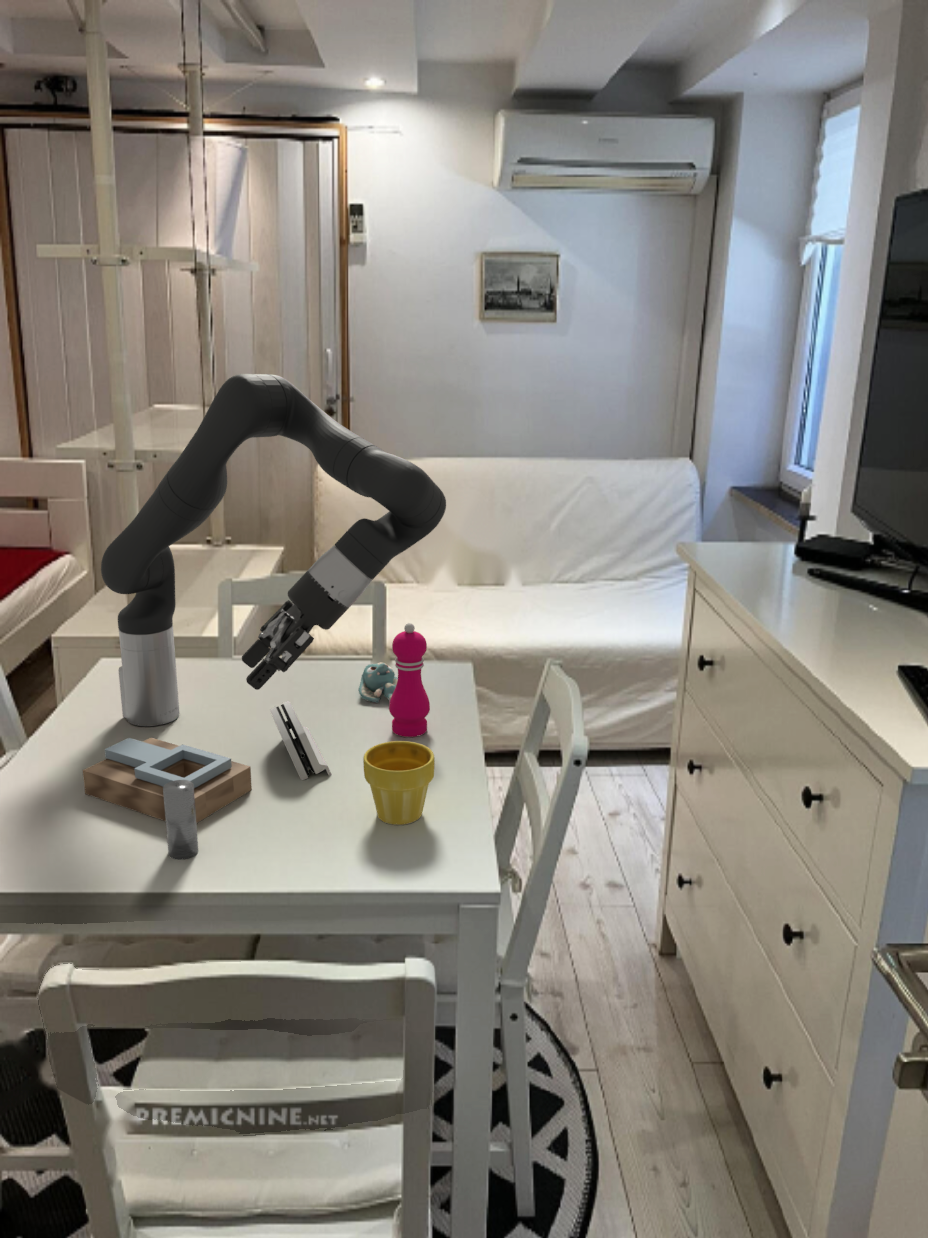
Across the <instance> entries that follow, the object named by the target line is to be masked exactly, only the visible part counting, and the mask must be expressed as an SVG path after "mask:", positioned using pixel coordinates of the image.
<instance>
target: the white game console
mask: <svg viewBox="0 0 928 1238" xmlns="http://www.w3.org/2000/svg"><path fill="white" fill-rule="evenodd" d="M280 707H281V709H282V711H281V709H280ZM280 707H279V706H276V705H274V706H273V707H272V708H270V709H269V712H270V714H271V716H272V720H273V722H274V723H275V726H276V728H277V730H278V733H279V735H280V737H281V740H282V741H283V744H284V746H285V748H286V750H287V753H288V754H289V757H290V759H291V761H292V763H293V765H294V767H295V770H296V772H297V774H298V776H299V779H300V780H302V781H303V780H306V779H309V776H310V771H311V774H314V773H315V775H318V774H319V773H321V772H323V771H326V773H327V776H332V772H331V770H330V767H329V765H328V763H327V762H326V759H325V758H324V756H323V754H322V752H321V749H320V748H319V746H318V744H317V742H316V740H315V739H314V737H313V734H312V732H311V731H310V729H309V727H307V726H304V725H302V723H301V720H300V719H299V717H298V715H297V712H296V710H295V709H294V707H293V704H292V702H291V701H290V700H288V701H284V702H282V704H281V705H280ZM282 712H283V713H284V716H285V717H286V719H285V717H284V716H283V713H282ZM291 731H292V732H291ZM292 734H293V735H294V736H293V735H292ZM294 737H295V738H294ZM302 755H303V757H302ZM309 770H310V771H309Z"/></svg>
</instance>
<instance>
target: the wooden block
mask: <svg viewBox="0 0 928 1238" xmlns="http://www.w3.org/2000/svg"><path fill="white" fill-rule="evenodd" d="M142 742H145V743H148V744H152V745H155V746H159V747H162V748H165V749H169V750H172V749H174V748H176V747H178V746H179V745H178V744H174V743H173V742H168V741H165V740H160V739H158V738H154V737H149V738H146V739H145V740H143V741H142ZM231 764H232V767H231V768H230V769H228V770H226V771H224V772H223V773H221V774H219V775H217V776H215V777H214V778H212V779H210V780H208V781H207V782H205V783H203V784H201V785H199V786H198V787H196V788H194V797H195V810H196V824H198V823H199V822H201V821H202V820H204V819H206V818H208V817H209V816H211V815H213V814H214V813H216V812H217V811H220V810H221V809H222V808H224V807H226V806H227V805H229V804H231V803H232V802H234V801H236V800H237V799H239V798H241V797H242V796H244V795H246V794H247V793H249V792H251V791H252V790H253V789H252V787H253V786H252V773H251V772H252V770H251V769H252V768H251V766H250V765H248V764H247V765H246V764H243V763H240V762H236V761H234V760H233V761H232V760H231ZM205 766H206V765H203V764H200V763H196V762H193V761H190V760H186V759H182V760H180V761H178V762H176V763H174V764H172V765H170V766H168V767H166V768H164V769H163V770H161V771H164V772H167V773H170V774H173V775H177V776H180V777H183V778H185V777H186V776H188V775H190V774H192V773H194V772H196V771H198V770H199V769H201V768H203V767H205ZM134 768H136V767H133V766H129V765H126V764H123V763H120V762H117V761H113V760H110V759H107V758H105V759H103V760H101V761H99V762H97V763H95V764H93V765H91V766H89V767H86V768H84V769H82V778H83V779H82V780H83V786H84V794H85V795H88V796H91V797H94V798H96V799H99V800H102V801H106V802H108V803H110V804H114V805H117V806H120V807H123V808H126V809H128V810H132V811H135V812H137V813H140V814H144V815H146V816H149V817H153V818H156V819H157V820H161V821H164V822H166V819H165V807H164V795H163V786H160V785H157V784H154V783H151V782H147V781H144V780H141V779H138V778H135V770H134Z"/></svg>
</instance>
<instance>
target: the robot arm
mask: <svg viewBox="0 0 928 1238" xmlns="http://www.w3.org/2000/svg"><path fill="white" fill-rule="evenodd" d="M208 407H209V408H207V411H206V413H205V415H204V417H203V419H202V421H201V422H200V424H199V426H198V428H197V430H196V431H195V433H194V434H193V435H192V437H191V438H190V440H189V441H188V443H187V445H185V448H184V449H183V451H182V452H181V453H180V455H179V456H178V458H177V459H176V460H175V462H174V463H173V464H172V466H171V467H170V468H169V470H168V471H167V472H166V474H165V475H164V477H162V479H161V480H160V482H159V483H158V485H157V487H156V488H155V490H154V492H152V494H151V495H150V497H149V498H148V499H147V500H146V502H145V503H144V505H142V507H141V508H140V510H139V512H138V513H137V514H136V516H135V517H134V518H133V520H132V521H131V522H130V523H129V524H128V525H127V526H126V527H125V528H124V529H123V531H122V532H120V534H118V535H117V537H116V538H114V540H113V541H112V542H111V543H110V544H109V545H108V546H107V548H106V549H105V551H104V553H103V555H102V558H101V563H100V573H101V578H102V580H103V582H104V585H106V587H107V588H108V589H109V590H110V591H112V592H114V593H117V594H119V595H133V594H135V595H134V597H133V598H132V600H131V601H130V602H129V603H127V605H126V606H125V607H123V608H122V609H121V610H120V611H119V613H118V615H117V628H118V636H119V637H118V638H119V648H120V657H121V666H119V667H118V679H119V691H120V700H121V711H122V717H123V718H125V719H126V721H127V722H128V723H129V724H132V725H135V726H139V727H154V726H161V725H165V724H168V723H171V722H173V721H175V720H176V719H177V718H179V716H180V703H179V687H178V676H177V673H178V672H177V662H176V661H177V660H176V650H175V635H174V625H173V624H174V623H173V618H174V614H175V610H176V570H175V569H176V567H175V560H174V557H173V553H172V550H171V548H170V546H172V545H173V544H175V543H176V542H178V541H180V540H181V539H183V538H184V537H186V536H187V535H189V534H190V533H191V532H193V531H195V530H196V529H198V528H199V527H200V526H201V525H202V524H203V523H204V522H205V521H206V520H207V519H208V518H209V516H211V514H212V513H213V512H214V510H215V509H216V508H217V507H218V506H219V504H220V503H221V502H222V500H223V498H224V496H225V495H226V492H227V488H228V471H227V464H228V461H229V459H230V458H231V457H232V455H233V454H234V453H235V451H236V450H237V449H238V448H239V447H240V446H241V445H242V444H243V443H244V442H245V441H247V440H248V439H253V438H271V437H277V436H281V437H284V438H287V439H290V440H292V441H295V442H297V443H300V444H301V445H303V446H305V447H306V448H307V449H309V451H310V452H311V453H312V455H313V457H314V459H315V461H316V463H317V464H318V466H319V467H320V468H321V469H322V471H324V473H326V474H327V475H328V476H329V477H331V478H332V479H333V480H335V481H336V482H337V483H339V484H341V485H343V486H345V488H347V489H349V490H351V491H352V492H354V493H356V494H358V495H360V496H362V497H364V498H371V499H372V500H374V501H375V502H377V503H378V504H379V505H381V506H382V507H384V508H385V509H386V510H387V511H388V512H386V513H385V514H384V515H382V516H381V517H380V518H378V519H375V520H372V519H368V518H361V519H358V520H357V521H356V522H354V523H353V524H352V525H351V526H350V527H349V528H348V530H346V532H345V533H344V534H343V535H342V536H341V537H340V538H339V539H338V540H337V541H336V542H335V544H333V545H332V546H331V547H330V548H329V549H328V550H327V551H325V552H324V553H323V554H322V555H321V556H319V558H317V560H316V561H315V562H314V563H313V564H312V566H310V567H309V568H308V569H307V570H306V571H305V573H304V574H302V575H301V577H299V579H298V580H297V581H296V582H295V583H294V585H293V586H291V588H290V589H289V590H288V591H287V597H288V599H289V600H286V601H285V602H284V603H283V604H282V605H281V606H280V608H278V609H277V611H275V613H274V614H273V615H272V616H271V617H270V618H269V619H268V620H267V621H266V622H265V623H264V624H263V625H262V626H261V627H260V628H259V629H260V630H259V631H260V633H259V634H258V637H257V639H256V640H255V642H254V643H253V644H252V645H250V647H249V648H248V649H247V650H246V651H245V652H244V653H243V655H242V656H241V661H242V663H244V664H245V665H246V666H248V667H249V668H251V669H253V670H252V671H251V672H250V673H249V674H248V675H247V676H246V678H245V681H246V683H247V684H248V685H249V686H251V688H253V689H254V690H256V691H258V690H260V689H262V687H263V686H264V685H265V684H266V683H267V682H268V681H269V680H270V679H271V678H272V676H273V675H274V674H275V673H276V672H277V671H278V672H280V671H281V672H282V673H285V672H287V671H288V670H289V668H290V667H291V666H293V664H294V663H295V662H296V661H297V660H298V658H299V657H300V656H301V655H303V653H304V651H305V650H307V648H309V646H310V645H311V644H312V643H313V642H314V640H315V637H313V636H312V635H311V634H310V633H311V631H312V629H314V627H316V626H318V627H319V628H321V630H326V631H328V630H330V629H331V628H332V627H333V626H334V625H335V624H336V622H337V621H338V620H339V619H340V618H341V617H342V616H343V615H344V614H345V613H346V612H347V611H348V610H349V609H350V608H351V606H353V605H354V604H355V602H356V601H358V599H359V598H360V597H361V596H362V595H363V593H364V592H365V591H366V590H367V588H368V587H369V585H370V584H371V583H372V581H373V580H374V579H375V578H376V577H377V576H378V575H379V574H380V573H381V571H383V569H385V567H387V566H388V564H390V562H391V560H393V558H395V557H397V556H398V555H401V553H403V552H404V551H407V550H408V549H409V548H411V547H412V546H414V545H415V544H417V543H419V542H420V541H421V540H423V539H424V538H425V537H427V536H428V535H429V534H430V533H432V532H433V531H434V529H436V528H437V527H438V525H439V524H440V522H441V521H442V519H443V517H444V515H445V513H446V509H447V499H446V496H445V494H444V492H443V491H442V489H441V488H440V487H439V486H438V484H436V483H435V482H434V480H433V479H432V478H431V477H430V476H429V475H428V474H427V473H426V472H425V470H423V468H421V467H419V466H418V465H416V464H415V463H413V462H411V461H409V460H408V459H405V458H403V457H400V456H398V455H395V454H394V453H393V454H392V453H389V452H386V451H385V450H383V449H382V448H380V447H379V446H377V445H375V444H374V443H372V442H370V441H369V440H367V439H365V438H364V437H362V436H360V435H358V434H356V433H355V432H353V431H351V430H350V429H348V428H347V427H345V426H344V425H342V424H341V423H339V422H338V421H336V420H335V419H334V418H333V417H331V416H330V415H329V414H327V413H326V412H325V411H324V410H323V409H322V408H320V407H319V406H318V405H317V404H316V403H314V402H313V401H312V400H311V399H310V398H309V397H307V395H305V394H304V393H303V392H302V391H301V390H300V389H299V388H298V387H296V385H294V384H293V383H292V382H290V381H289V380H288V379H286V378H284V377H282V376H280V375H278V374H269V373H238V374H235V375H233V376H231V377H229V378H228V379H226V381H224V383H223V384H222V385H221V387H220V388H219V389H218V390H217V393H216V395H214V398H213V400H212V401H211V404H210V406H208Z"/></svg>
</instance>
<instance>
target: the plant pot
mask: <svg viewBox="0 0 928 1238" xmlns="http://www.w3.org/2000/svg"><path fill="white" fill-rule="evenodd" d="M362 758H363V759H362V761H363V762H362V763H363V774H364V775H363V776H364V778H365V781H366V782H367V784H368V785H369V786H370V787H369V788H370V791H371V794H372V799H373V801H374V803H373V804H374V806H375V807H374V808H375V810H376V815H377V817H378V819H379V820H380V821H381V822H383V823H385V824H388V825H394V826H403V825H409V824H412V823H414V822H416V821H418V820H419V819H420V818H421V816H422V815H423V811H424V807H425V803H426V797H427V793H428V789H429V785H430V783H431V782H432V780H433V779H434V777H435V765H436V764H435V761H436V760H435V754H434V751H433V750H432V749H431V748H430V747H428V746H427V745H425V744H422V743H419V742H415V741H407V740H393V741H391V740H390V741H386V742H382V743H377V744H376V745H374V746H371V747H370V748H368V749H367V750H366V751H365V753H364V754H363V757H362Z"/></svg>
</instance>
